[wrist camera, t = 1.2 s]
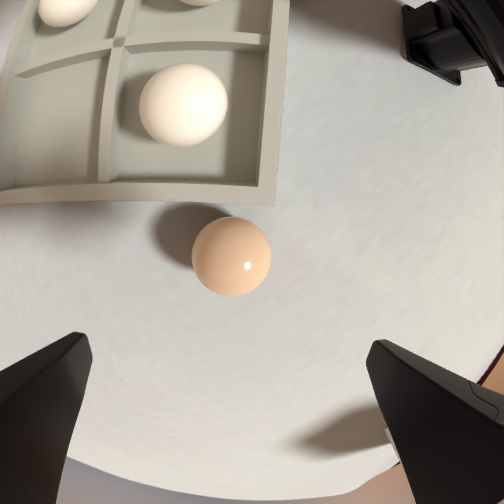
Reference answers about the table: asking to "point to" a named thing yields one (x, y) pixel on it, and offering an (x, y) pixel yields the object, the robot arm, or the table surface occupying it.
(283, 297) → the table surface
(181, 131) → the egg
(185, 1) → the egg
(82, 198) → the carton
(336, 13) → the table surface
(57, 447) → the robot arm
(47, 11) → the egg
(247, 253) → the brown egg
